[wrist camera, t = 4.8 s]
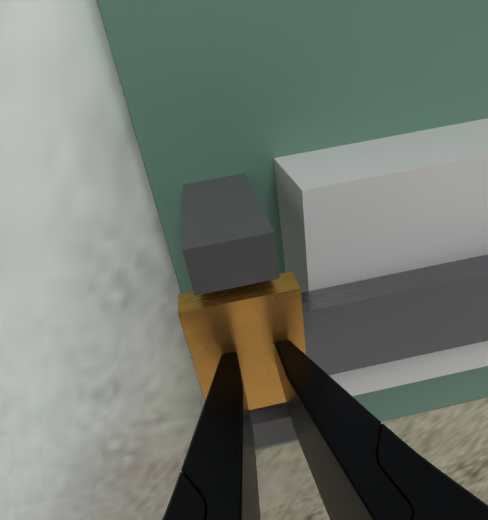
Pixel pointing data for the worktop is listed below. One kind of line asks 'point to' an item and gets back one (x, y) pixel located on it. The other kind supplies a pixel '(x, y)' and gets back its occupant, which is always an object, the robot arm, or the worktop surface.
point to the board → (293, 101)
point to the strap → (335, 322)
